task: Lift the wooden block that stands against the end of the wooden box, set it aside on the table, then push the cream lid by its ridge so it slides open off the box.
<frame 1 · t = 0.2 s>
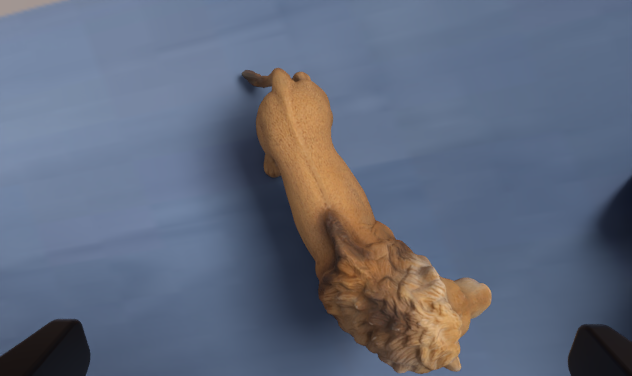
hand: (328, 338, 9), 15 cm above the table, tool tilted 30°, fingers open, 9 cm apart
lion figurine: (338, 200, 24), on the table
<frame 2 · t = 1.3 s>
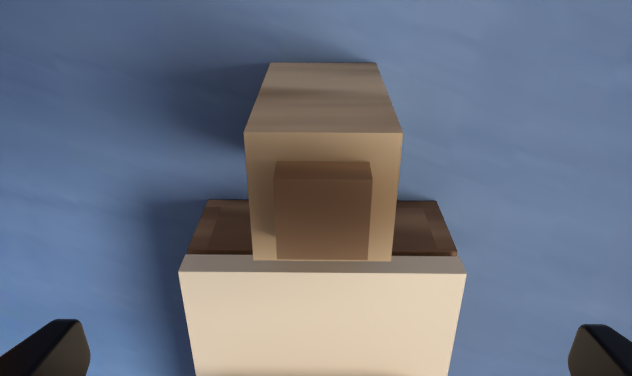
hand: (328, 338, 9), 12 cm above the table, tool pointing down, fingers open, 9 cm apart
wooden block: (322, 113, 19), on the table
wooden box: (321, 304, 24), on the table
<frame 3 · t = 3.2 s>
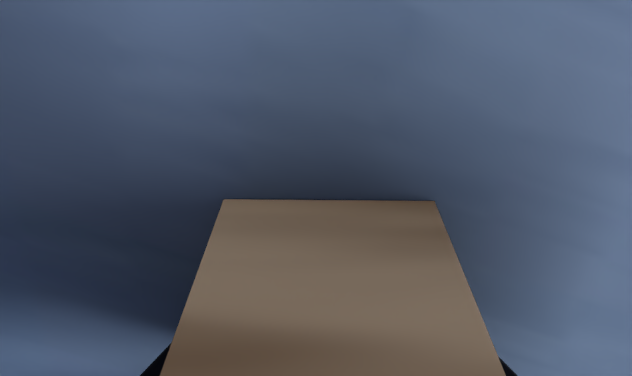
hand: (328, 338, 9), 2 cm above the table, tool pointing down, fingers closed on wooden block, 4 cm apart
wooden block: (327, 282, 10), on the table, touching gripper
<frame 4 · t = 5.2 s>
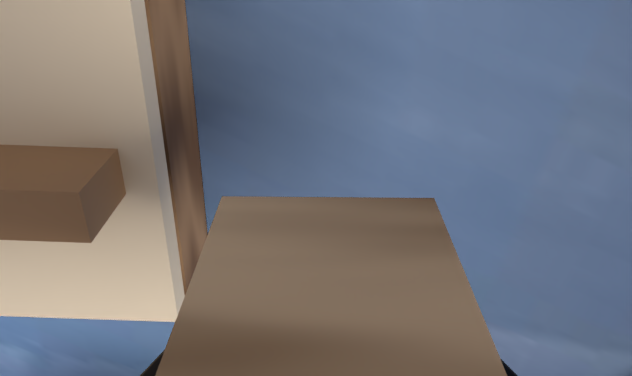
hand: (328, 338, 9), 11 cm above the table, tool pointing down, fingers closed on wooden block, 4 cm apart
wooden block: (326, 280, 10), point 10 cm above the table, touching gripper
wooden box: (65, 107, 18), on the table
when the fingers open (2 cm above the table, at t = 7.4 s): wooden block drops 1 cm, on the table.
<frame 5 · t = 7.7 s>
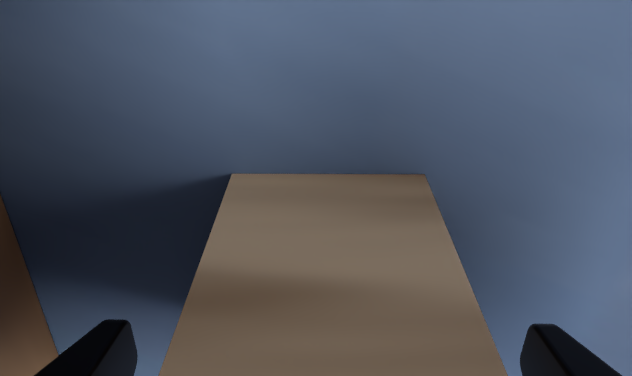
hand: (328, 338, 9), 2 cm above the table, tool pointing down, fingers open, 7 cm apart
wooden block: (327, 252, 11), on the table
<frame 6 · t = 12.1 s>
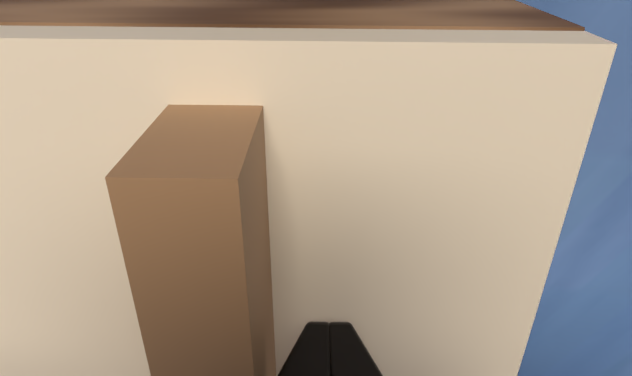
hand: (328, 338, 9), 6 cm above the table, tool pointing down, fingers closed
lid: (228, 326, 9), point 6 cm above the table, slide at 0.2 cm, touching gripper
wooden box: (268, 180, 14), on the table
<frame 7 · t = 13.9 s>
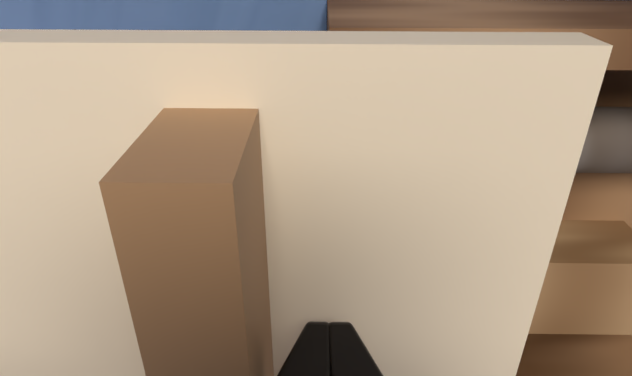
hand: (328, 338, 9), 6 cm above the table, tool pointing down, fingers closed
lid: (225, 329, 9), point 6 cm above the table, slide at 7.9 cm, touching gripper
wooden box: (533, 185, 14), on the table
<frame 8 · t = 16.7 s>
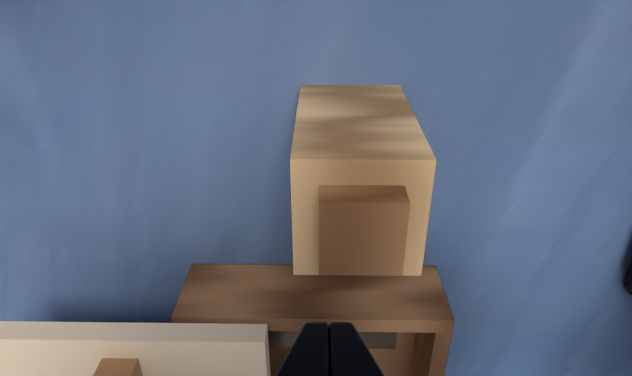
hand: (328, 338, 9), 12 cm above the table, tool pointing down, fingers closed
wooden block: (348, 131, 20), on the table
wooden box: (313, 339, 26), on the table
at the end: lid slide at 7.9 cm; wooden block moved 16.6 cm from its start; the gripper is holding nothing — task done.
